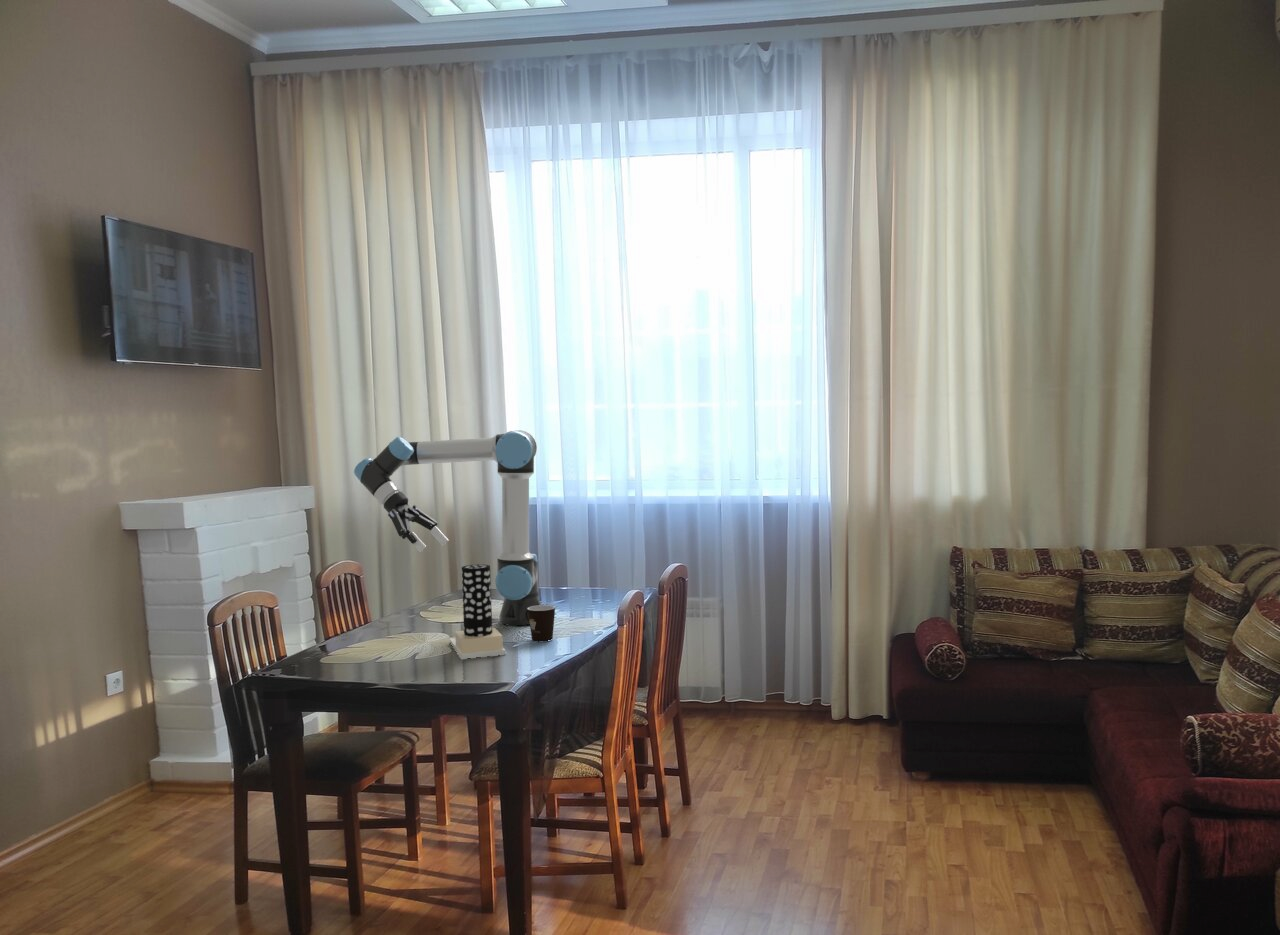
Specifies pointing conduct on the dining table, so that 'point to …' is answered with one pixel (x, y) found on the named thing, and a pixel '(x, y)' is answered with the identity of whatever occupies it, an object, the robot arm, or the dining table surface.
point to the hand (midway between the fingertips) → (434, 546)
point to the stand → (478, 645)
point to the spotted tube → (477, 600)
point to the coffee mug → (541, 622)
